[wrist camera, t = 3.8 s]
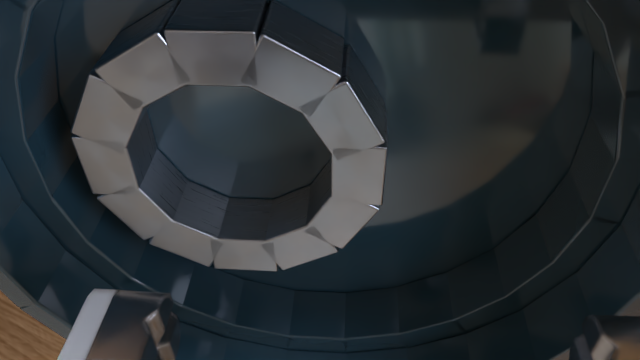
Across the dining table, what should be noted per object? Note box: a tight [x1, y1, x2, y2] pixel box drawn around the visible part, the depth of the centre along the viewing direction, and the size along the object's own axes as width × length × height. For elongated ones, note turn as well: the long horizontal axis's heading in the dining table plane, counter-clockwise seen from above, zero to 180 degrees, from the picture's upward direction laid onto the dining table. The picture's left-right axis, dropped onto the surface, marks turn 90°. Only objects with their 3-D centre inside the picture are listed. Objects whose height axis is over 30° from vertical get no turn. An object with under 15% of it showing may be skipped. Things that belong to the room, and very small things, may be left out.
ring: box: [70, 0, 388, 271], centre depth 15 cm, size 8×8×2 cm
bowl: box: [0, 0, 640, 360], centre depth 14 cm, size 17×17×4 cm
